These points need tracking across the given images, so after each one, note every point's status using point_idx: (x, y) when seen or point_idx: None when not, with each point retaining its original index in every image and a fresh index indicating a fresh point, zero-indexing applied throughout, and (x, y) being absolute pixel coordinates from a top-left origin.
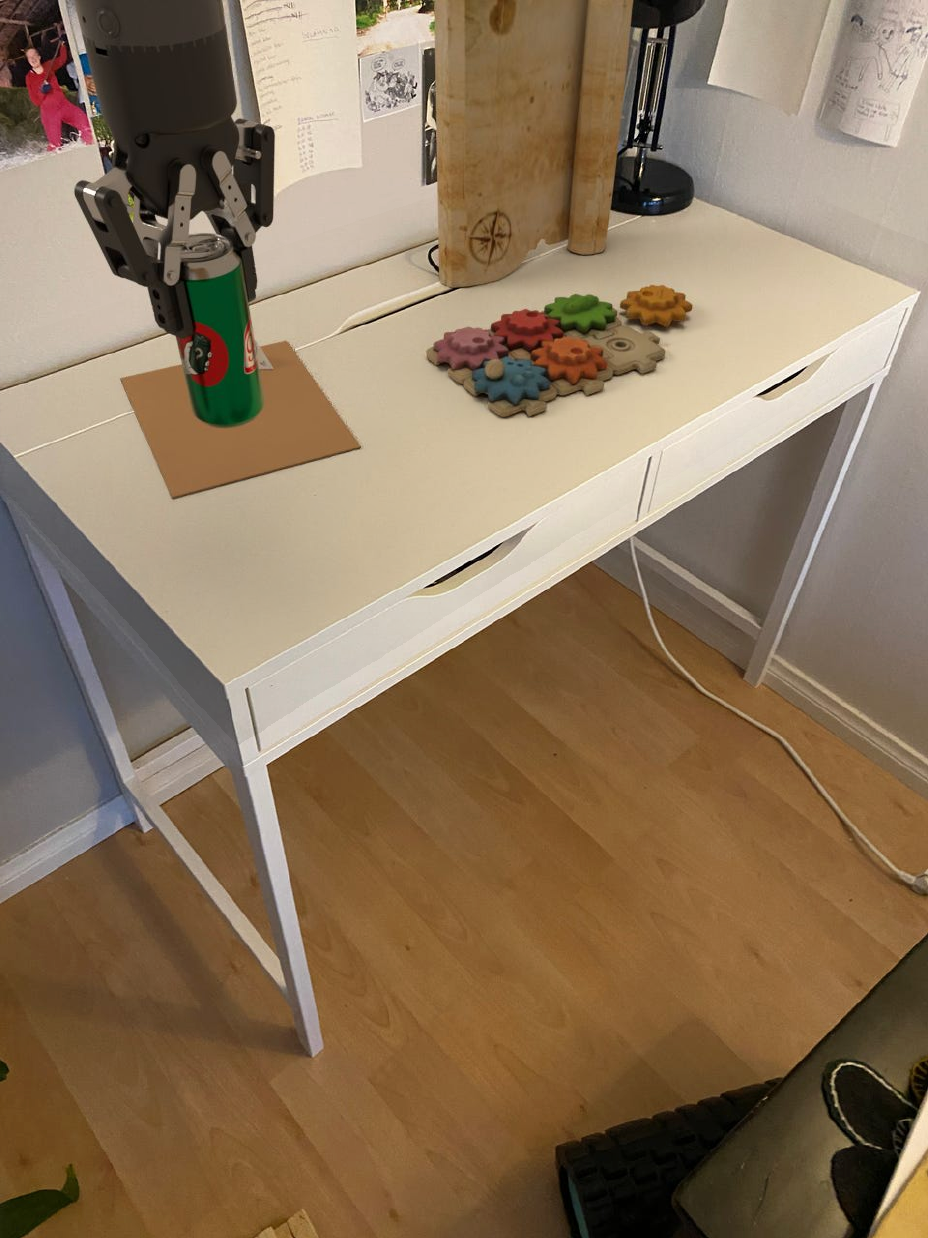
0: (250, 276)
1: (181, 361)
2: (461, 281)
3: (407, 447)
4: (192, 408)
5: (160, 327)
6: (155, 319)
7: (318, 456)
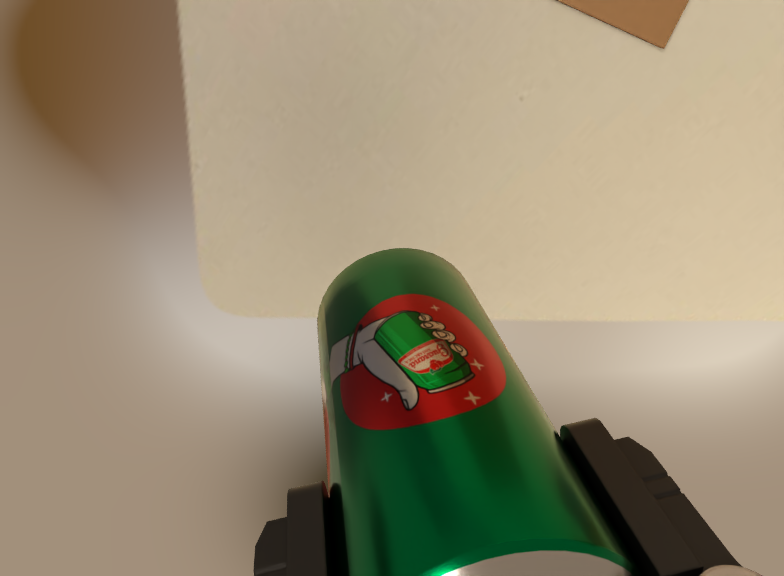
0: None
1: (329, 376)
2: None
3: (700, 105)
4: (320, 311)
5: (267, 525)
6: (256, 552)
7: (601, 16)
